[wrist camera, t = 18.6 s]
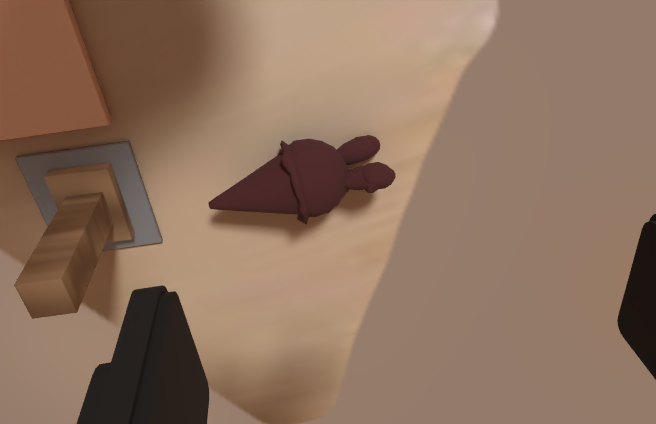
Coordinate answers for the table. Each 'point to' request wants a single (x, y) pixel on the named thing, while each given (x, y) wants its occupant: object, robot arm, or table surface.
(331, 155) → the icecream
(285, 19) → the table surface
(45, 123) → the tile
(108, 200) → the wooden post with base
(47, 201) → the mat
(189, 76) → the table surface
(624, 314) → the robot arm
